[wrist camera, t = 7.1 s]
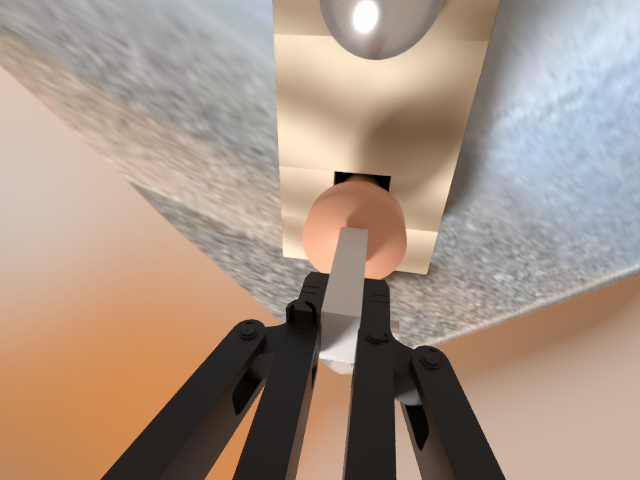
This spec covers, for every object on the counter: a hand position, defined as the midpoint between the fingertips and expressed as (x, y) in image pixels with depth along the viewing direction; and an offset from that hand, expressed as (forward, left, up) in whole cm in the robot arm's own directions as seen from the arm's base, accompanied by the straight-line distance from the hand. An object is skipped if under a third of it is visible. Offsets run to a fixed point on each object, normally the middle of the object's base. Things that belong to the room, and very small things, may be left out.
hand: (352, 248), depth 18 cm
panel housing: (-6, 0, -12) cm, 14 cm away
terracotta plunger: (0, 0, -8) cm, 8 cm away
